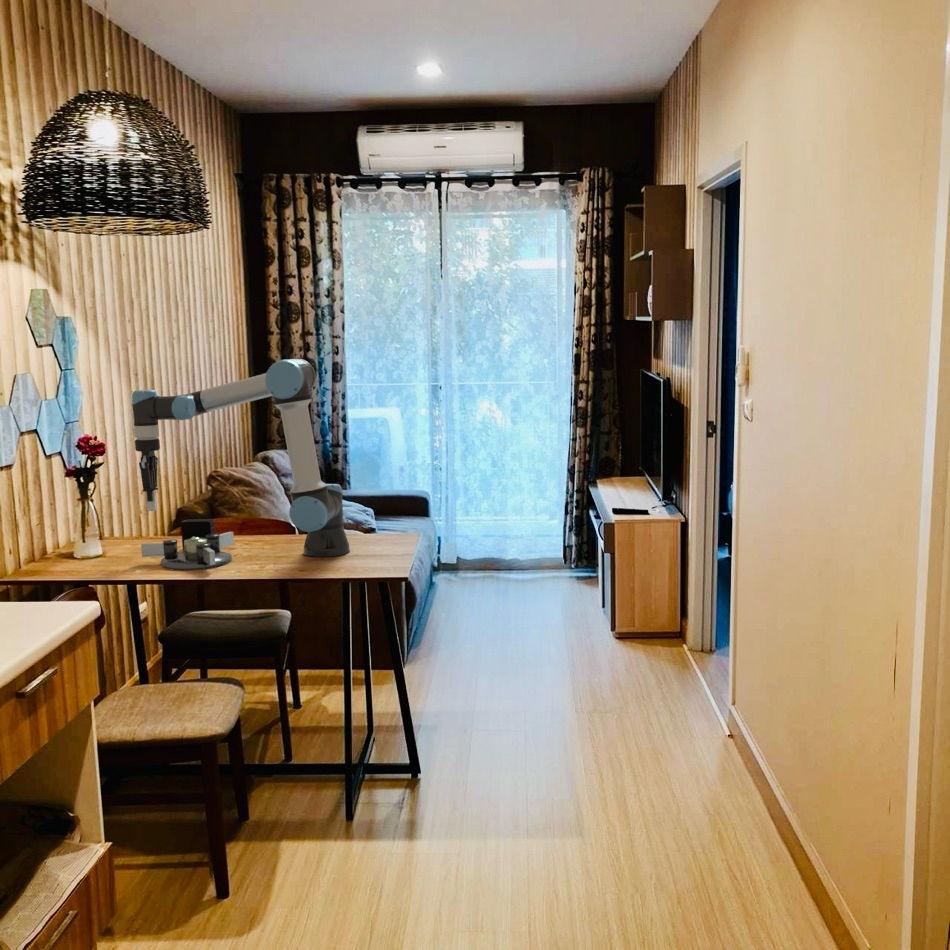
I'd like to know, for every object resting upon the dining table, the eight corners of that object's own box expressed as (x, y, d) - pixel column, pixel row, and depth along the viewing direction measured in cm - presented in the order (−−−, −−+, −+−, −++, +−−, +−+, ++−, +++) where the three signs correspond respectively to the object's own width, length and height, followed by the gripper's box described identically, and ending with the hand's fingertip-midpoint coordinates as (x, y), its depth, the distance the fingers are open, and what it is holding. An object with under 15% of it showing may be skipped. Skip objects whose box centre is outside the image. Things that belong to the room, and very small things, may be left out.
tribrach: (246, 557, 316) (244, 532, 315) (198, 573, 297) (196, 546, 296) (195, 551, 326) (193, 527, 325) (145, 566, 307) (144, 540, 306)
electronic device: (211, 550, 328) (210, 521, 327) (182, 550, 329) (180, 521, 327) (215, 547, 333) (213, 518, 331) (186, 547, 333) (184, 519, 331)
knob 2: (195, 561, 305) (193, 544, 305) (208, 559, 308) (207, 542, 307) (205, 568, 296) (204, 550, 295) (220, 566, 298) (218, 548, 298)
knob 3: (214, 554, 315) (213, 537, 315) (203, 553, 317) (202, 536, 317) (237, 547, 325) (236, 530, 324) (227, 546, 327) (226, 529, 326)
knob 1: (179, 556, 313) (178, 539, 312) (176, 559, 309) (175, 542, 308) (144, 557, 313) (143, 540, 312) (140, 560, 308) (139, 543, 308)
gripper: (141, 436, 316) (146, 507, 320) (128, 440, 303) (134, 514, 307) (164, 435, 317) (169, 506, 320) (153, 440, 304) (158, 514, 307)
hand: (151, 510), depth 314 cm, fingers closed
